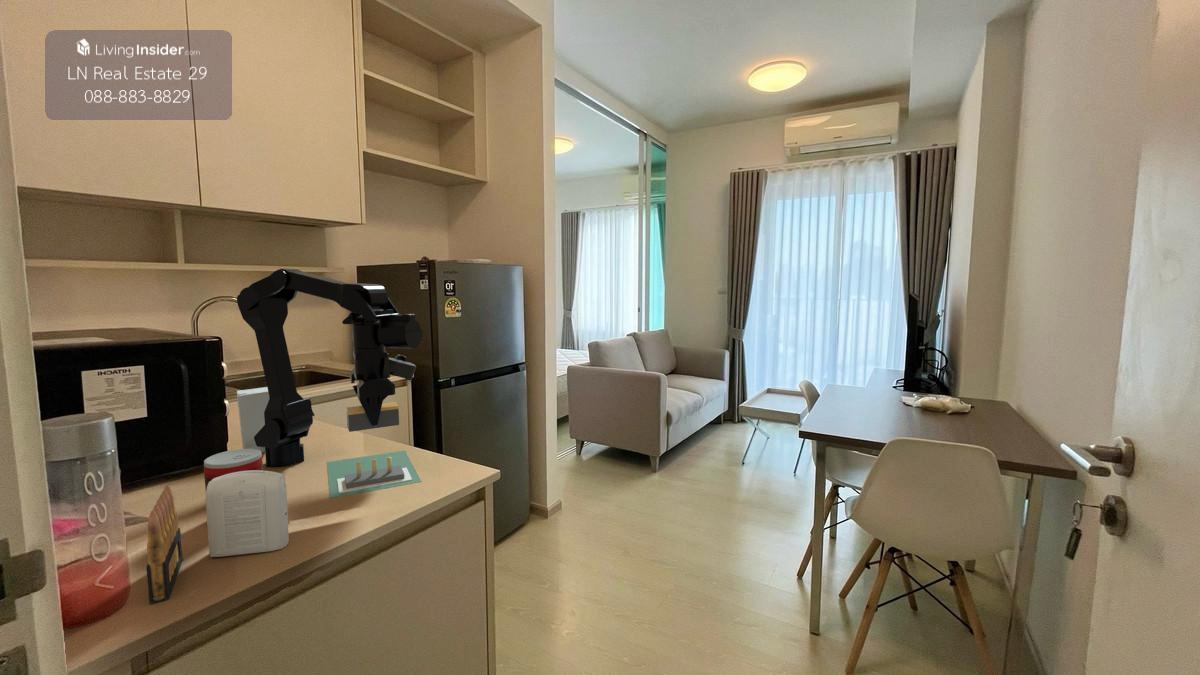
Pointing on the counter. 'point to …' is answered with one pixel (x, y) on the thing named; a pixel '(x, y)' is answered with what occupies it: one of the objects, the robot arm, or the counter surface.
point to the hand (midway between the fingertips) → (373, 422)
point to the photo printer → (247, 513)
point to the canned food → (232, 463)
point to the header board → (370, 473)
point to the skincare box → (252, 414)
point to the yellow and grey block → (361, 422)
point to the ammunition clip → (163, 548)
